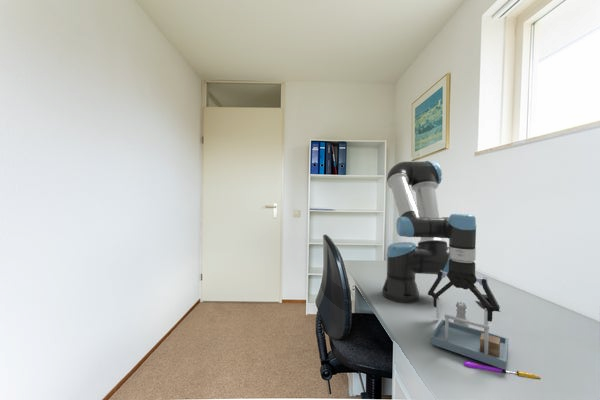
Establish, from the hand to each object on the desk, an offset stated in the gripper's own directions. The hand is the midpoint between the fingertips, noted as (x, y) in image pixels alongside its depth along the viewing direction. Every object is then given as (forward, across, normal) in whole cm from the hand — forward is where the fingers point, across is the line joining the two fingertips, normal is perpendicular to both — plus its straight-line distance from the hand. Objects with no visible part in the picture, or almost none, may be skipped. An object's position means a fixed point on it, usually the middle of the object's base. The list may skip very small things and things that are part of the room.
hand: (461, 323), depth 85 cm
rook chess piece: (+2, 0, 0) cm, 2 cm away
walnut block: (-1, +9, -15) cm, 18 cm away
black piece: (+2, +5, +27) cm, 28 cm away
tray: (+1, +4, -12) cm, 13 cm away
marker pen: (+2, +11, -18) cm, 21 cm away
